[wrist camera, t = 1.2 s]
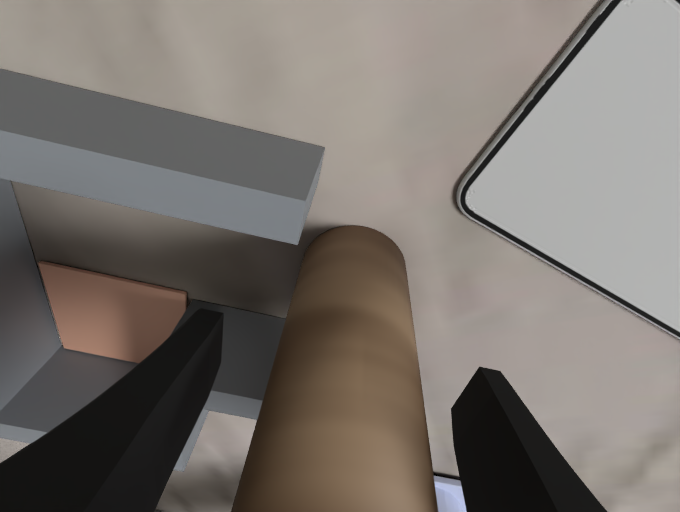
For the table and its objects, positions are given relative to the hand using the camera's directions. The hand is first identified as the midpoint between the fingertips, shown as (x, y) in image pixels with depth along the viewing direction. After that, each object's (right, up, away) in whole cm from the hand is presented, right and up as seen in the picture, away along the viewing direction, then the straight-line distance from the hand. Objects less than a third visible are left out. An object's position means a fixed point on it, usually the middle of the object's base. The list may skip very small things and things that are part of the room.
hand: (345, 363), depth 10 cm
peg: (0, +2, +4) cm, 5 cm away
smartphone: (+12, +5, +2) cm, 13 cm away
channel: (-8, +2, +5) cm, 10 cm away
